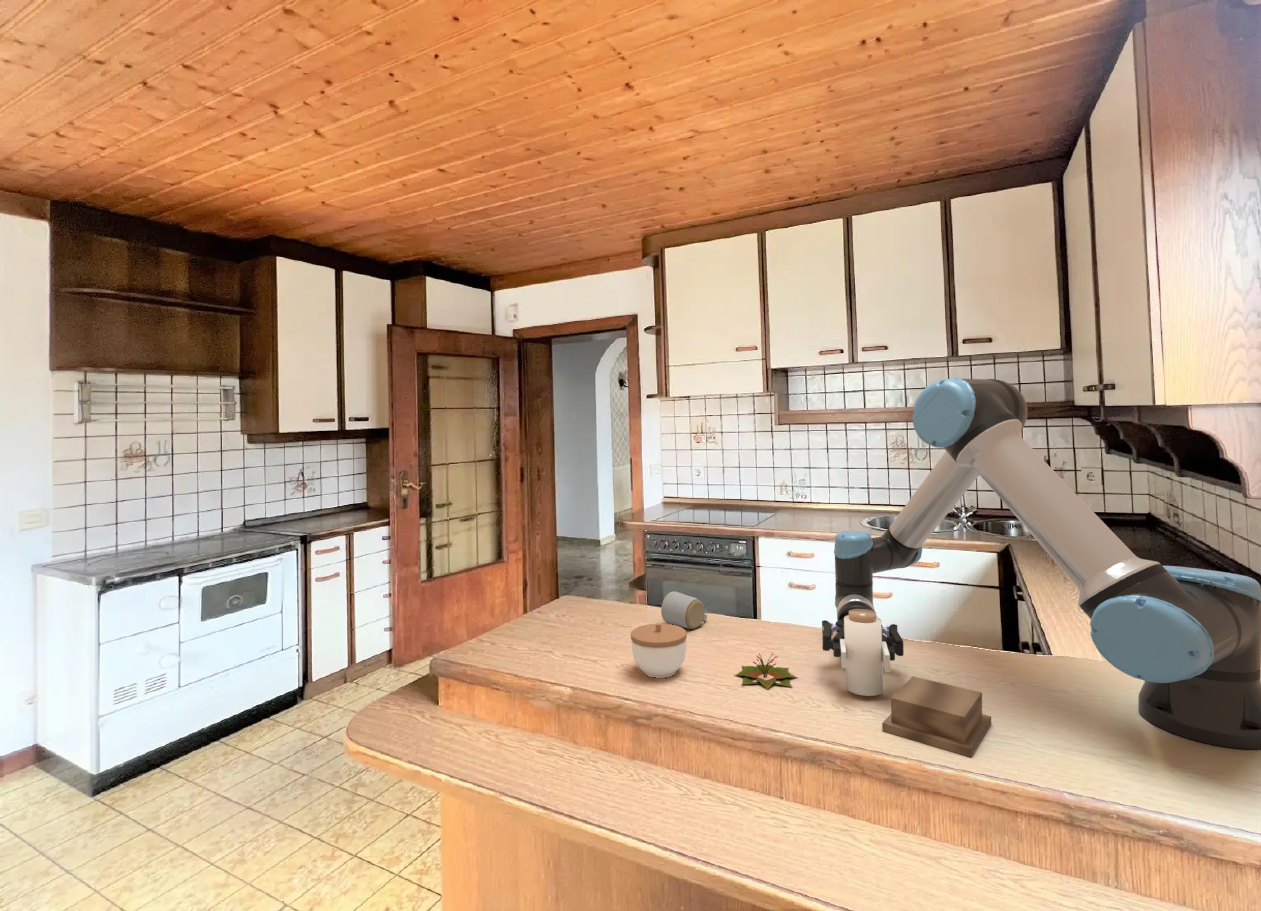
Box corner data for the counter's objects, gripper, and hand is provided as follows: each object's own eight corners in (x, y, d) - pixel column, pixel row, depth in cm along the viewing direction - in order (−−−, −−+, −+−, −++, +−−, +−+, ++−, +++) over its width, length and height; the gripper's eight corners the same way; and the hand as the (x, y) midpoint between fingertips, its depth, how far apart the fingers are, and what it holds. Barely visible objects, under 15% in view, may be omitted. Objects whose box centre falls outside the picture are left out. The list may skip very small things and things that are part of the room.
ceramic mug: (687, 633, 138) (687, 600, 138) (660, 626, 144) (660, 594, 144) (715, 622, 146) (715, 591, 146) (688, 616, 152) (688, 585, 151)
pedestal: (991, 724, 93) (990, 691, 93) (971, 757, 84) (970, 721, 84) (908, 702, 101) (908, 672, 101) (882, 730, 92) (881, 698, 92)
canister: (888, 686, 105) (886, 610, 105) (875, 698, 101) (873, 619, 100) (853, 678, 109) (851, 605, 109) (840, 690, 105) (838, 613, 104)
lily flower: (733, 665, 120) (733, 642, 120) (796, 668, 118) (795, 644, 118) (732, 691, 109) (731, 666, 108) (802, 694, 106) (801, 668, 106)
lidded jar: (658, 688, 110) (656, 637, 109) (620, 671, 118) (619, 624, 118) (699, 671, 117) (697, 623, 116) (661, 657, 125) (660, 611, 125)
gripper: (909, 640, 119) (929, 689, 97) (808, 634, 125) (805, 679, 103) (908, 602, 119) (928, 642, 97) (807, 598, 124) (804, 635, 102)
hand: (865, 661), depth 100 cm, fingers closed on canister, 6 cm apart
